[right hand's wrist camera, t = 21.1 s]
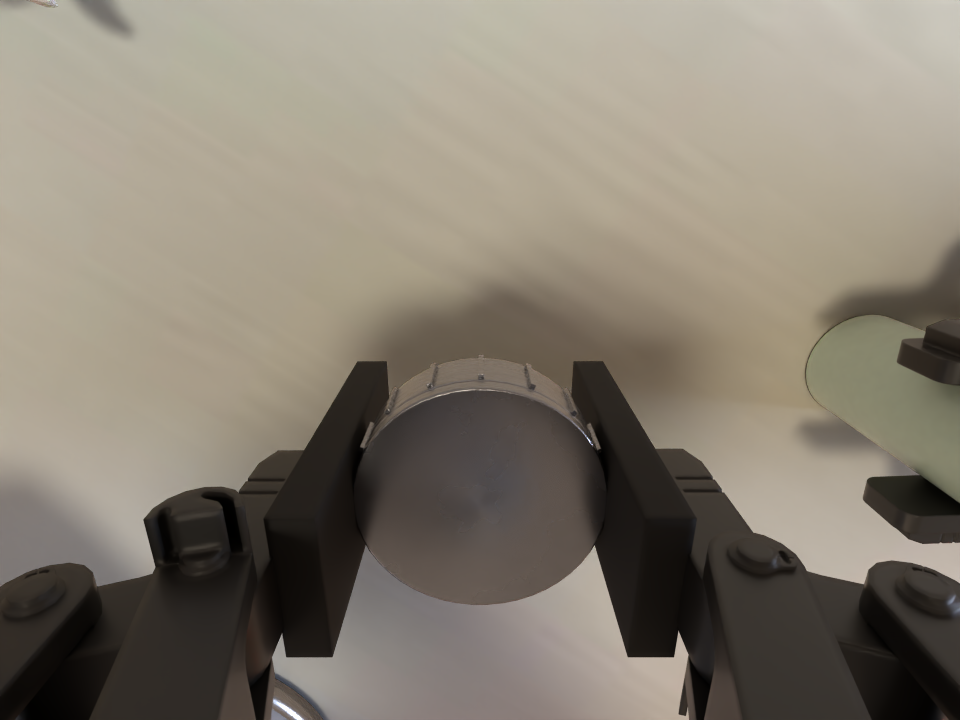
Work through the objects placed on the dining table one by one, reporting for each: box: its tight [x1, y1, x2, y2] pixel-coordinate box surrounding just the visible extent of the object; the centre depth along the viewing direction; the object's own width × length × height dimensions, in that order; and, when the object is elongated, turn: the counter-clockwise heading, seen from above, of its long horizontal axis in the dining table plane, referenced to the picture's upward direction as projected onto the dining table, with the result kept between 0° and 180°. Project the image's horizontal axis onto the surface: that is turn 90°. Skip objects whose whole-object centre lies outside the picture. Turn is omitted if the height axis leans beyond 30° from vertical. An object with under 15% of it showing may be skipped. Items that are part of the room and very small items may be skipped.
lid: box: [353, 355, 608, 605], centre depth 11 cm, size 5×5×2 cm
